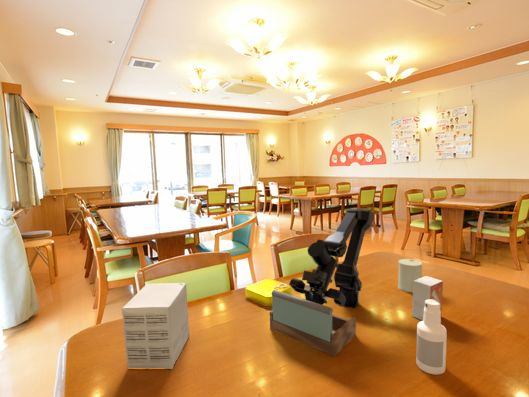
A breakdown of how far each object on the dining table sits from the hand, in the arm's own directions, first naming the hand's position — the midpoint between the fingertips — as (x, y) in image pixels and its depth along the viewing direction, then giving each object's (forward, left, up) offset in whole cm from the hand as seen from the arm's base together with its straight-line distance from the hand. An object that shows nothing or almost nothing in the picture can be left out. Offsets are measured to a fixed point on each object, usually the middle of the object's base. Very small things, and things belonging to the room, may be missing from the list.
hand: (306, 315), depth 98 cm
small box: (+35, +28, -7) cm, 45 cm away
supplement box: (-37, -25, -7) cm, 46 cm away
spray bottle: (+35, -1, -7) cm, 35 cm away
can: (+29, +52, -7) cm, 60 cm away
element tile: (-24, +23, -7) cm, 34 cm away
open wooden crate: (+1, +3, -7) cm, 7 cm away
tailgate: (-1, -4, -3) cm, 5 cm away
